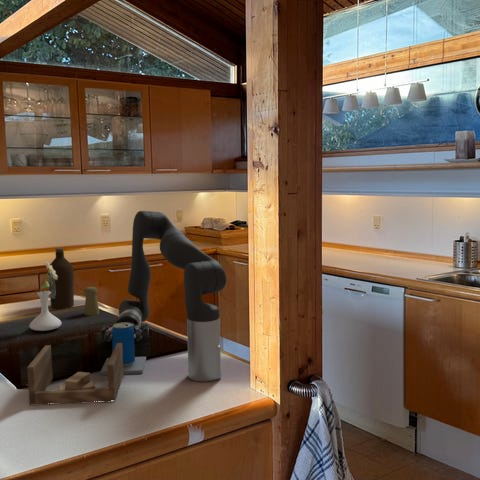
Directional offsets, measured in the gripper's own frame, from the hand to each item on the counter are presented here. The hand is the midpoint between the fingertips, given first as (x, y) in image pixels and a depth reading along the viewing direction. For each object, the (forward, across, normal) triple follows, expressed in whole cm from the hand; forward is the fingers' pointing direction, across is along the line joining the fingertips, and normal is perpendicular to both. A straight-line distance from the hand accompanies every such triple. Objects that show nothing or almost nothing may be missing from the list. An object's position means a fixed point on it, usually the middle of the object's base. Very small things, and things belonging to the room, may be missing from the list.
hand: (122, 338), depth 175 cm
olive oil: (-81, -36, +10) cm, 89 cm away
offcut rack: (+15, -10, +10) cm, 20 cm away
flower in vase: (-47, -34, +10) cm, 59 cm away
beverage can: (-2, 0, +9) cm, 9 cm away
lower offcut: (+18, -10, +10) cm, 23 cm away
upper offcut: (+17, -10, +8) cm, 21 cm away
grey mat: (-2, 0, +10) cm, 10 cm away
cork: (-67, -21, +10) cm, 71 cm away
